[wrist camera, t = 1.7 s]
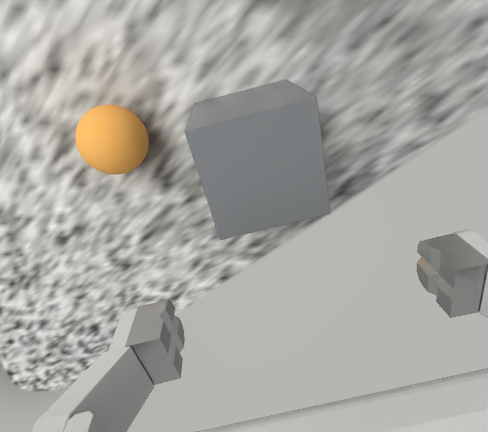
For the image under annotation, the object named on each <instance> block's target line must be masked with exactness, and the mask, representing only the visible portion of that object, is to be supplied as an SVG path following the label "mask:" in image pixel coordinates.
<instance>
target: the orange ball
mask: <svg viewBox="0 0 488 432" xmlns="http://www.w3.org/2000/svg"><path fill="white" fill-rule="evenodd" d="M76 145H77V148H78V150H79V153H80V154H81V156H82V157H83V159H84V160H85V161H86V162H87V163H88V164H89V165H90V166H92V167H93V168H95V169H96V170H98V171H101V172H104V173H107V174H123V173H127V172H129V171H131V170H133V169H135V168H136V167H138V166H139V165H140V164H141V163H142V161H143V160H144V158H145V156H146V154H147V151H148V145H149V141H148V134H147V131H146V128H145V126H144V125H143V123H142V122H141V120H140V119H139V118H138V117H137V116H136V115H135V114H134V113H132V112H131V111H129V110H128V109H126V108H123V107H120V106H116V105H102V106H98V107H95V108H93V109H91V110H89V111H88V112H87V113H86V114H85V115H84V116H83V117H82V118H81V119H80V121H79V123H78V125H77V129H76Z"/></svg>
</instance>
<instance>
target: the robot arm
mask: <svg viewBox="0 0 488 432" xmlns="http://www.w3.org/2000/svg"><path fill="white" fill-rule="evenodd" d="M418 253H419V254H420V255H421V256H422V257H421V258H420V260H419V261H418V262H417V273H418V277H419V280H420V282H421V283H422V285H423V287H424V288H425V289H426V290H427V291H428V292H430V293H432V294H435V295H437V300H436V302H437V303H438V304H439V305H440V306H441V308H442V309H443V310H444V311H445V312H446V313H447V314H448V315H449V317H450V318H451V317H456V316H461V315H466V314H472V313H476V312H480V314H482V315H484V316H486V317H488V241H487V240H486V239H484V238H483V237H481V236H480V235H479V234H477V233H476V232H474V231H473V230H469V229H467V230H463V231H459V232H455V233H452V234H449V235H444V236H441V237H436V238H432V239H428V240H424V241H420V242H419V244H418ZM174 312H175V308H174V306H173V304H172V302H171V301H169V300H167V301H162V302H158V303H153V304H148V305H143V306H140V307H135V308H130V309H126V310H124V311H123V312H122V314H121V317H120V320H119V322H118V325H117V328H116V331H115V334H114V337H113V340H112V342H111V345H110V348H109V351H108V352H104V353H103V354H102V355H101V356H100V357H99V358H98V359H97V360H96V361H95V362H94V363H93V364H92V365H91V366H90V367H89V368H88V369H87V370H86V371H85V372H84V373H83V374H82V375H81V376H80V377H79V378H78V379H77V380H76V381H75V383H74V384H73V385H72V386H71V387H70V388H69V389H68V390H67V391H66V392H65V393H64V394H63V395H62V396H61V397H60V398H59V399H58V400H57V401H56V402H55V403H54V404H53V405H52V406H51V407H50V408H49V409H48V410H47V411H46V412H45V413H44V414H43V415H42V416H41V417H40V419H38V420H37V422H36V424H35V426H34V428H33V430H32V432H126V431H127V430H128V428H129V427H130V425H131V423H132V422H133V420H134V418H135V417H136V415H137V414H138V412H139V411H140V409H141V407H142V406H143V404H144V403H145V401H146V399H147V398H148V396H149V394H150V393H151V391H152V390H153V388H154V385H155V384H159V383H163V382H168V381H171V380H175V379H179V378H181V370H182V360H183V359H182V357H181V355H180V352H181V350H182V349H183V347H184V330H183V326H182V323H181V321H180V319H179V318H178V317H176V316H175V315H174ZM197 432H488V368H487V369H482V370H478V371H474V372H469V373H465V374H460V375H455V376H450V377H446V378H441V379H437V380H433V381H428V382H423V383H419V384H414V385H409V386H405V387H400V388H396V389H392V390H387V391H382V392H377V393H373V394H368V395H363V396H359V397H354V398H350V399H345V400H341V401H336V402H331V403H327V404H322V405H317V406H313V407H308V408H303V409H299V410H294V411H290V412H285V413H280V414H276V415H271V416H266V417H262V418H257V419H253V420H248V421H244V422H239V423H234V424H230V425H226V426H220V427H216V428H211V429H207V430H202V431H197Z"/></svg>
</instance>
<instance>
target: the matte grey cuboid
mask: <svg viewBox="0 0 488 432" xmlns="http://www.w3.org/2000/svg"><path fill="white" fill-rule="evenodd" d="M185 135H186V138H187V141H188V144H189V147H190V150H191V153H192V156H193V159H194V162H195V165H196V168H197V171H198V174H199V177H200V180H201V183H202V186H203V189H204V192H205V195H206V198H207V201H208V204H209V207H210V211H211V214H212V217H213V220H214V223H215V226H216V229H217V232H218V235H219V238H220V240H223V239H227V238H231V237H235V236H239V235H243V234H248V233H252V232H256V231H260V230H264V229H268V228H273V227H277V226H281V225H285V224H289V223H293V222H298V221H302V220H306V219H310V218H314V217H318V216H323V215H327V214H330V206H329V198H328V189H327V181H326V172H325V163H324V155H323V146H322V138H321V129H320V121H319V112H318V103H317V97H316V96H314V95H313V94H311V93H309V92H307V91H306V90H304V89H302V88H300V87H298V86H297V85H295V84H293V83H291V82H290V81H288V80H282V81H278V82H275V83H271V84H267V85H263V86H259V87H256V88H252V89H248V90H244V91H240V92H237V93H233V94H229V95H225V96H221V97H218V98H214V99H210V100H206V101H202V102H199V103H195V104H194V106H193V109H192V112H191V115H190V117H189V120H188V123H187V125H186V128H185Z"/></svg>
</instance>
